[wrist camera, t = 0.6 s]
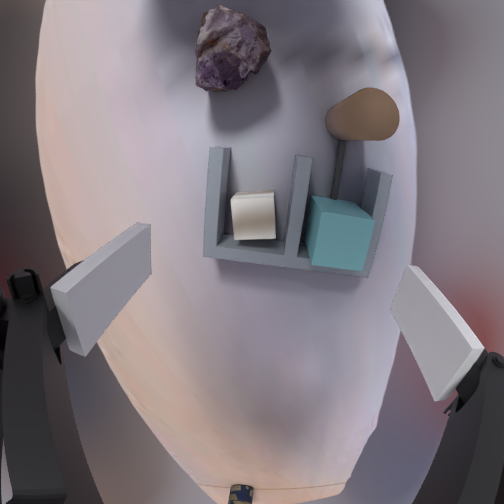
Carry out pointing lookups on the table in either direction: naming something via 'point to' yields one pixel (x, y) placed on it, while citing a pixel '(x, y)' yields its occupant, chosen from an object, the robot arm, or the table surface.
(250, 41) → the rock
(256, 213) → the cream cube
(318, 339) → the table surface
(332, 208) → the block
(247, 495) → the canister
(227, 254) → the lane rack
